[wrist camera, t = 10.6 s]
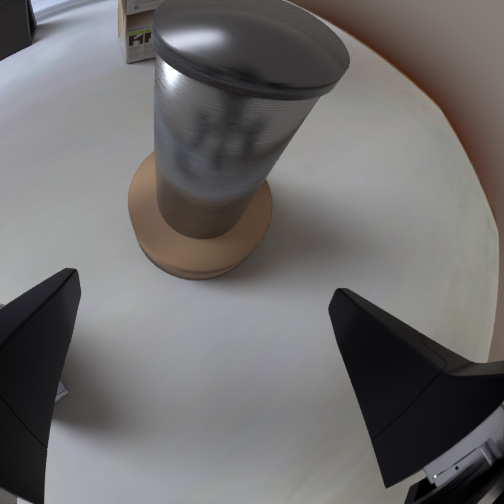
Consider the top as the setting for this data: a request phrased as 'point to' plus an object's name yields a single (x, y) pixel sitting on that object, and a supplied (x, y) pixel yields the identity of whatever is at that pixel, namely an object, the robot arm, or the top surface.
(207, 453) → the top surface
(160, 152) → the silver metal cylinder
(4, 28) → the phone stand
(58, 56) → the top surface
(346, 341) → the robot arm
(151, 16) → the coffee box
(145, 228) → the stand
